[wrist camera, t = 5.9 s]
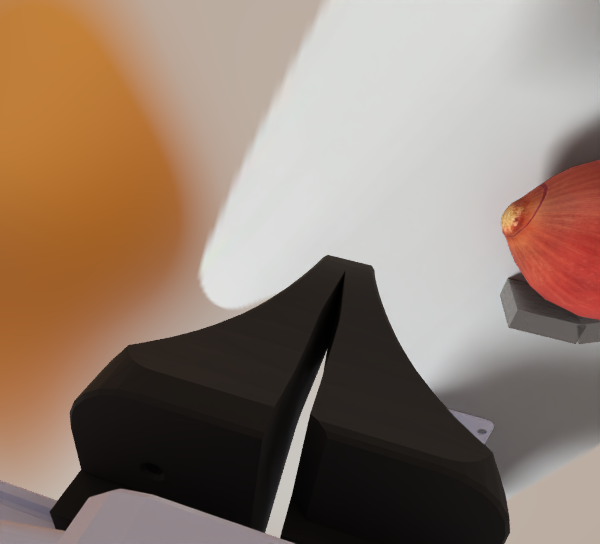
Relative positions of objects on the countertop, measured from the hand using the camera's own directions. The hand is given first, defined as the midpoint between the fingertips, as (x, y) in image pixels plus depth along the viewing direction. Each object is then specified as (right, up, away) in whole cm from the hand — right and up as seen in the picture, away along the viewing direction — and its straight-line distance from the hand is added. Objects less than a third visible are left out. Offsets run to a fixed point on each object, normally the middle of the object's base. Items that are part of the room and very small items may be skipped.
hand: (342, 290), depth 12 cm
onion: (+6, +3, +4) cm, 8 cm away
